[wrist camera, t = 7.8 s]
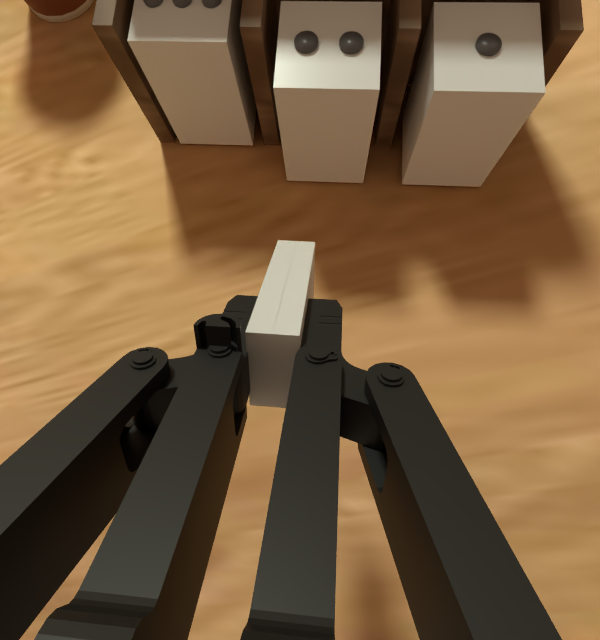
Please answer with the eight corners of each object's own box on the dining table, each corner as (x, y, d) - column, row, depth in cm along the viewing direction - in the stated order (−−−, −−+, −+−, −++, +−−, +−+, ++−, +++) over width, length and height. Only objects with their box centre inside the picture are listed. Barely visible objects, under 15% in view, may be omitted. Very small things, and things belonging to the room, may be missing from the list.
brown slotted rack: (498, 62, 36) (648, -239, 19) (501, 150, 34) (670, -98, 18) (172, 57, 38) (56, -223, 21) (160, 141, 36) (22, -93, 19)
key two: (365, 116, 35) (382, -2, 25) (363, 183, 34) (380, 86, 24) (292, 114, 36) (280, -3, 26) (287, 180, 34) (272, 84, 24)
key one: (478, 118, 35) (541, -1, 25) (480, 186, 33) (547, 90, 24) (402, 116, 35) (434, -1, 25) (401, 184, 34) (434, 87, 24)
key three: (259, 82, 37) (235, -43, 27) (252, 145, 35) (225, 39, 25) (189, 80, 37) (140, -43, 27) (180, 143, 36) (125, 37, 26)
